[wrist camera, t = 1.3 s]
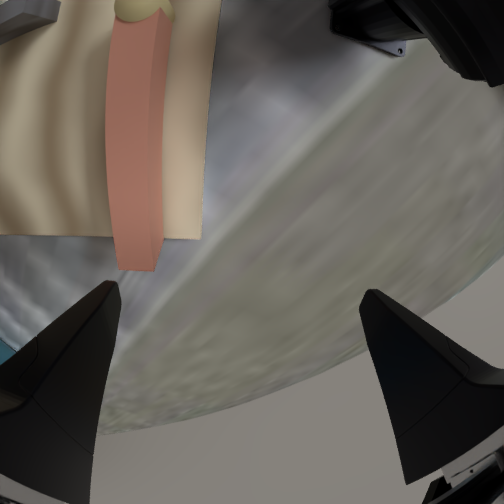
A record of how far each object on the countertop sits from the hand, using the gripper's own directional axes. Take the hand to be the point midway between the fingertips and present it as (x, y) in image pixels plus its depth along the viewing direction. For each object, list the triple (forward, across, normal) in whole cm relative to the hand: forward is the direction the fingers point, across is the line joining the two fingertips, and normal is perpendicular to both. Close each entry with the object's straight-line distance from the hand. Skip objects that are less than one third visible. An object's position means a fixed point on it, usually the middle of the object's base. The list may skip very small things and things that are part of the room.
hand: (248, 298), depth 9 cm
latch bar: (+11, +6, -4) cm, 13 cm away
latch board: (+13, +13, -6) cm, 19 cm away
